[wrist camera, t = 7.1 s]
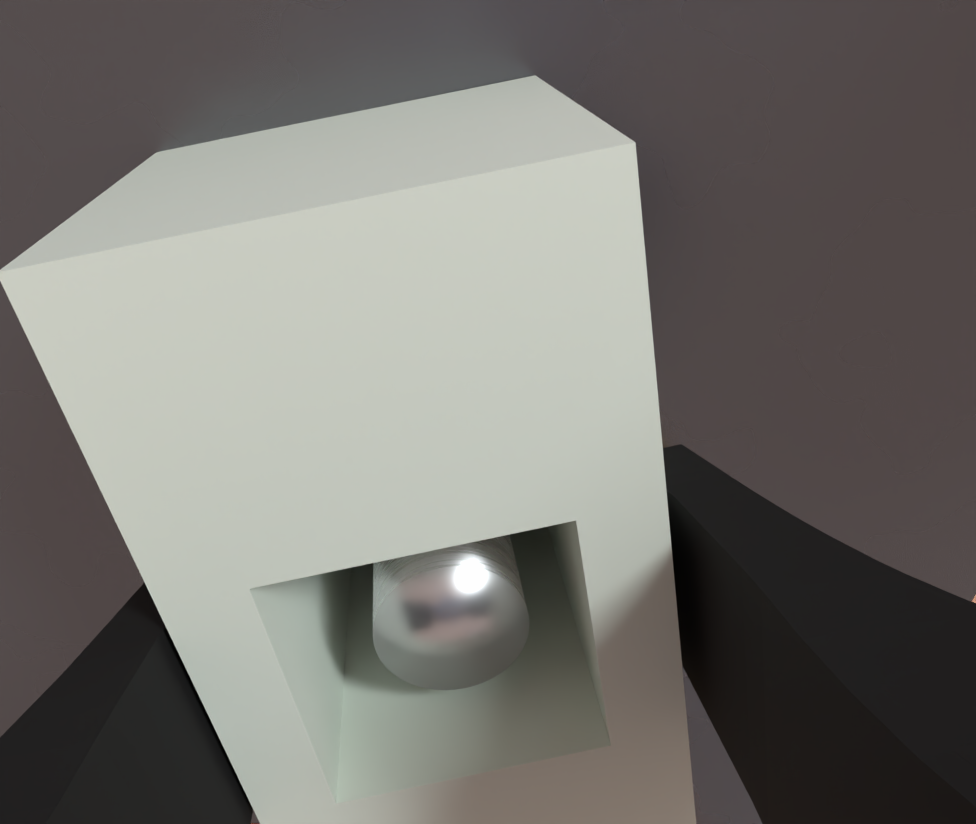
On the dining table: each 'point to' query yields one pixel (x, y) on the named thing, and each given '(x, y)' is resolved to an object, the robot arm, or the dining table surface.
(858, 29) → the stand
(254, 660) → the block with square hole
